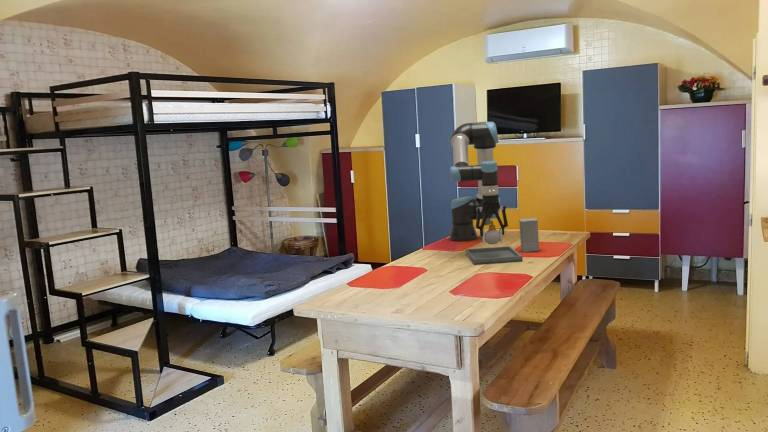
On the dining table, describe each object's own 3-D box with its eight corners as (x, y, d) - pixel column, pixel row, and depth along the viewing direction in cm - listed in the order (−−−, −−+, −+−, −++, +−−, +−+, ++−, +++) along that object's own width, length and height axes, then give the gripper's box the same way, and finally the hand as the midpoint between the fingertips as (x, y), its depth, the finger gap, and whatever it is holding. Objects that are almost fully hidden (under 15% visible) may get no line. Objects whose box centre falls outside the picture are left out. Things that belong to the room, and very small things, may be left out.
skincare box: (537, 248, 304) (536, 217, 302) (539, 251, 297) (538, 219, 295) (520, 249, 305) (518, 218, 303) (521, 252, 298) (520, 220, 296)
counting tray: (466, 254, 303) (465, 249, 302) (510, 251, 303) (510, 246, 303) (474, 264, 279) (474, 259, 279) (522, 261, 279) (522, 256, 279)
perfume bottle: (496, 246, 284) (495, 220, 282) (477, 244, 290) (476, 219, 288) (503, 243, 290) (502, 218, 288) (485, 241, 296) (484, 217, 294)
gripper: (470, 196, 283) (472, 245, 286) (513, 193, 283) (515, 242, 286) (467, 195, 290) (469, 242, 293) (510, 192, 291) (512, 239, 294)
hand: (492, 242), depth 290 cm, fingers closed on perfume bottle, 7 cm apart
